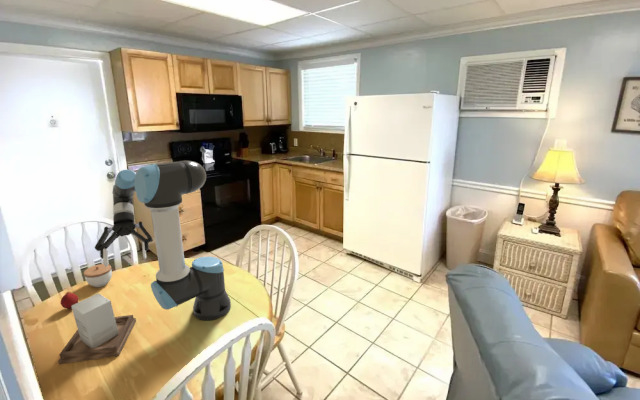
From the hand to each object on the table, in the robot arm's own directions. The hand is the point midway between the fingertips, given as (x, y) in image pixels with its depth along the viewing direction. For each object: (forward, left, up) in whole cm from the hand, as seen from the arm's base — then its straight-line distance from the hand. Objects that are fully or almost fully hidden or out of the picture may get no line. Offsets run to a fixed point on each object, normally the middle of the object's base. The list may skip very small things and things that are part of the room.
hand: (125, 261), depth 123 cm
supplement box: (+7, +16, -22) cm, 28 cm away
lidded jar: (+22, -25, -23) cm, 41 cm away
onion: (+26, -7, -23) cm, 36 cm away
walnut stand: (+6, +16, -23) cm, 29 cm away
